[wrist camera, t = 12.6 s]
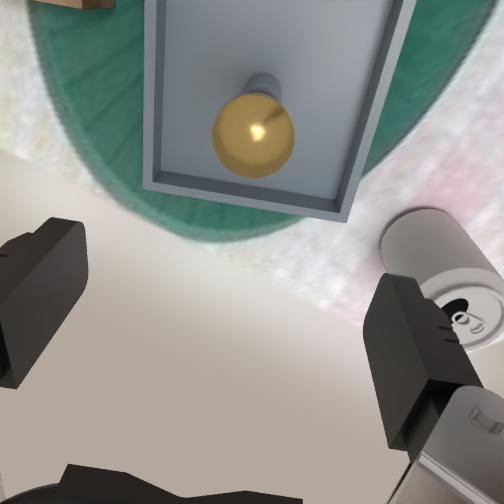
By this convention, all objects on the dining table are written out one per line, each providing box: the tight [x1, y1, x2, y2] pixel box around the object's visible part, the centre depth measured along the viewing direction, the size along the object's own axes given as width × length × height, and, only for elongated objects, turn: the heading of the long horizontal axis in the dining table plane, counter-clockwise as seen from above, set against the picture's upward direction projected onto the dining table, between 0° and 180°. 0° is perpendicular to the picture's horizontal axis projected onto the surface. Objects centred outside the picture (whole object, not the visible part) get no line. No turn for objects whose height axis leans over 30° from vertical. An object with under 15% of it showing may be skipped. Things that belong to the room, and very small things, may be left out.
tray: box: [143, 0, 417, 223], centre depth 31 cm, size 18×18×4 cm
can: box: [380, 209, 504, 352], centre depth 34 cm, size 8×8×12 cm
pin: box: [212, 73, 295, 178], centre depth 27 cm, size 4×4×13 cm
